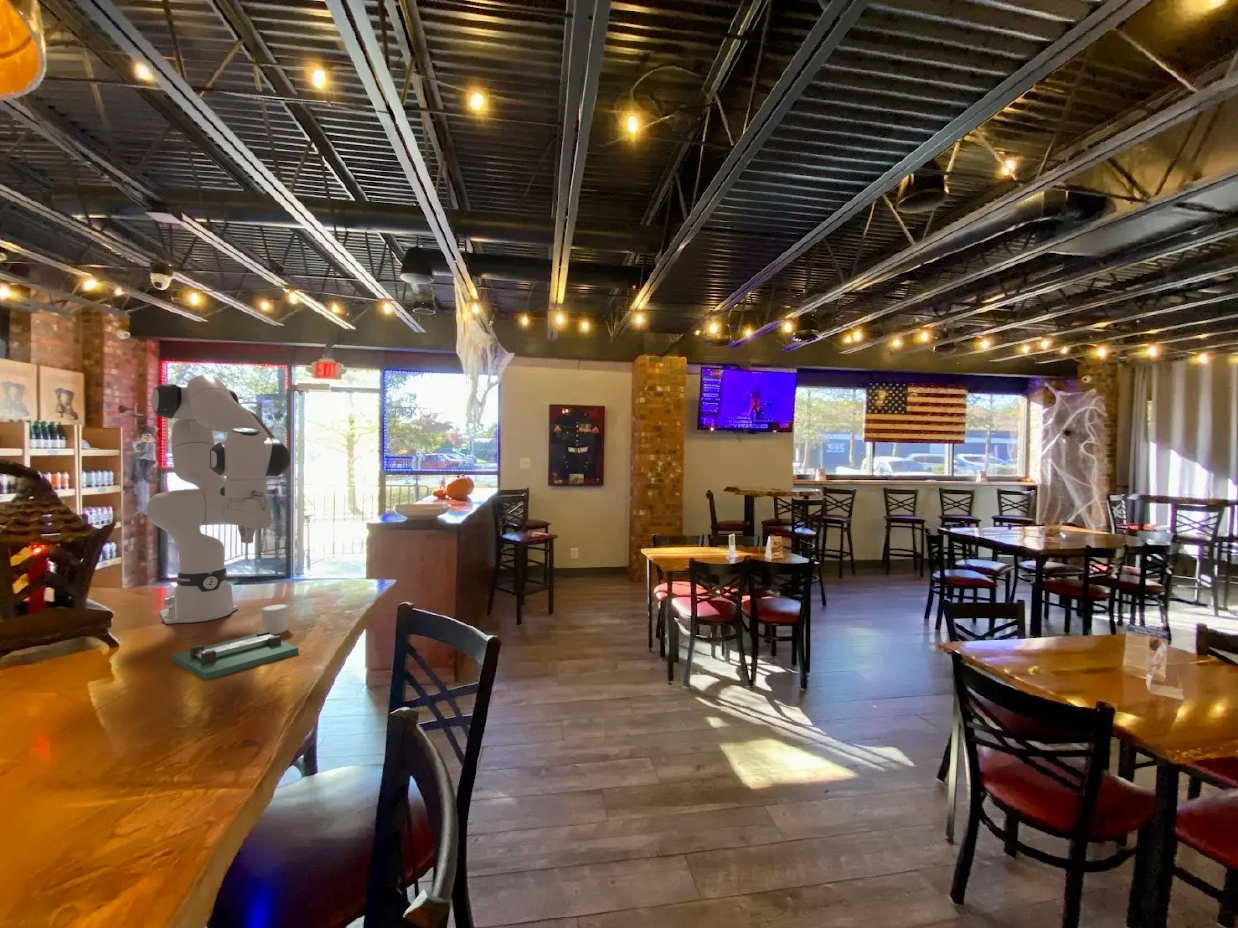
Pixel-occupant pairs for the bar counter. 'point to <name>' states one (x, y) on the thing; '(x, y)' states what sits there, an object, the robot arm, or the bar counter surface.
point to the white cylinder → (275, 618)
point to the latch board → (233, 657)
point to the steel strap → (237, 646)
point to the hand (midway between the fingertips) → (247, 542)
